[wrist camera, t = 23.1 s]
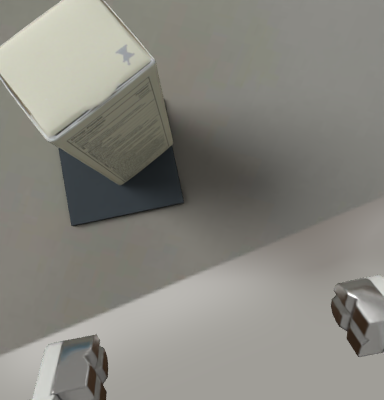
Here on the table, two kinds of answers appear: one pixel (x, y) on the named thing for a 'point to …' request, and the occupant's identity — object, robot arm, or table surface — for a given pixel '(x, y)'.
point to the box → (89, 87)
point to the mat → (118, 189)
